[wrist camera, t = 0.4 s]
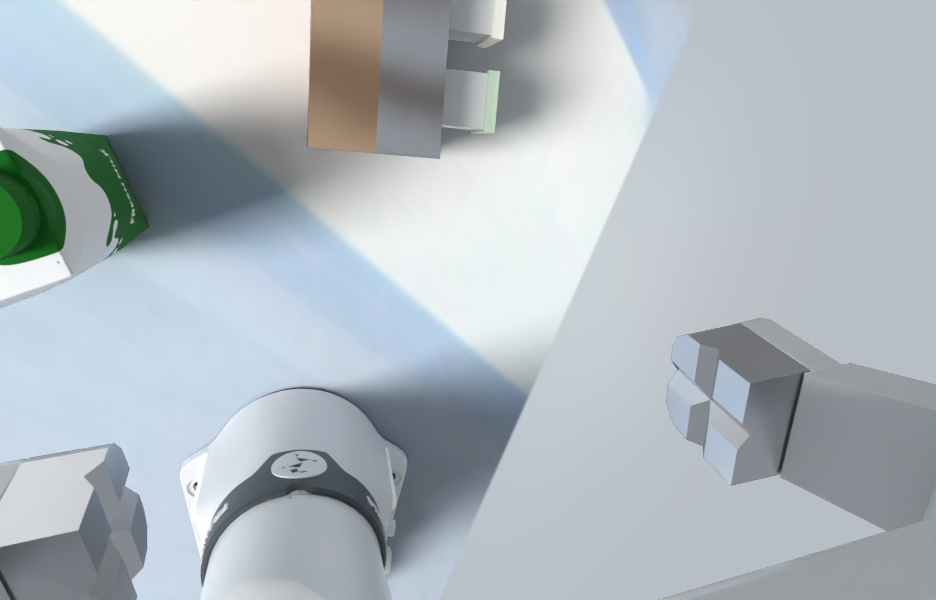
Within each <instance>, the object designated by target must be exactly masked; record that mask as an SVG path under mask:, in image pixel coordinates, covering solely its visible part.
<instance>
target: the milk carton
mask: <svg viewBox="0 0 936 600" xmlns="http://www.w3.org/2000/svg"><path fill="white" fill-rule="evenodd" d="M147 227H149V225H148V223H147V221H146V219H145V217H144V215H143V213H142V210H141V208H140V206H139V204H138V202H137V200H136V198H135V196H134V194H133V192H132V189H131V187H130V185H129V183H128V181H127V179H126V177H125V175H124V173H123V171H122V168H121V166H120V164H119V162H118V160H117V158H116V156H115V154H114V152H113V150H112V147H111V145H110V143H109V141H108V139H107V137H106V136H104V135H94V134H84V133H74V132H65V131H50V130H30V129H8V128H1V127H0V308H2V307H5V306H8V305H11V304H14V303H16V302H19V301H21V300H24V299H27V298H30V297H33V296H35V295H38V294H40V293H42V292H45V291H47V290H49V289H51V288H53V287H55V286H56V285H59V284H61V283H64V282H66V281H68V280H70V279H72V278H73V277H75V276H77V275H79V274H80V273H82V272H84V271H86V270H87V269H89V268H91V267H92V266H94V265H96V264H98V263H99V262H101V261H103V260H104V259H106V258H108V257H109V256H111V255H112V254H114V253H115V252H117V251H119V250H120V249H121V248H123V247H124V246H125V245H127V244H128V243H129V242H130V241H131V240H133V239H134V238H135V237H136V236H137V235H139V234H140V233H141V232H142V231H144V230H145V229H146V228H147Z"/></svg>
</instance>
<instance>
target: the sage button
mask: <svg viewBox="0 0 936 600" xmlns="http://www.w3.org/2000/svg"><path fill="white" fill-rule="evenodd" d="M499 80H500V71H494V70H487V71H485V72H482V73H481V72H473V71H465V70H457V69H449V68H446V80H445V94H444V108H443V121H442V127H445V128H455V129H466V130H469V133H477V134H485V133H495V124H496V113H497V102H498V91H499Z"/></svg>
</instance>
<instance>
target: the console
mask: <svg viewBox="0 0 936 600" xmlns="http://www.w3.org/2000/svg"><path fill="white" fill-rule="evenodd" d="M450 12H451V0H311V30H310V68H309V105H308V143H307V147H308V148H319V149H331V150H342V151H354V152H366V153H378V154H389V155H401V156H413V157H425V158H437V159H440V149H441V135H442V121H443V108H444V94H445V80H446V66H447V53H448V39H449V25H450Z"/></svg>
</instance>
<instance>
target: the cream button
mask: <svg viewBox="0 0 936 600" xmlns="http://www.w3.org/2000/svg"><path fill="white" fill-rule="evenodd" d="M506 3H507V0H451V12H450V25H449V39H450V40H457V41H464V42H472V43H476V47H483V48H488V47H490V46H492V45H493V44H495V43H497V42H499V41H501V40H503V36H504V25H505V14H506Z"/></svg>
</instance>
